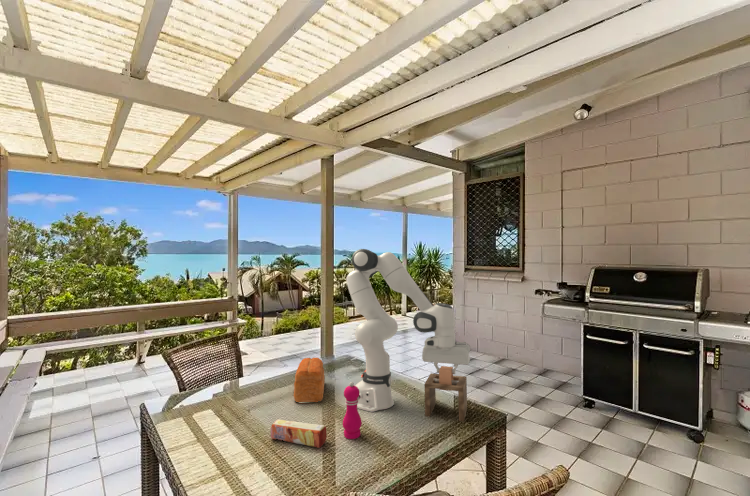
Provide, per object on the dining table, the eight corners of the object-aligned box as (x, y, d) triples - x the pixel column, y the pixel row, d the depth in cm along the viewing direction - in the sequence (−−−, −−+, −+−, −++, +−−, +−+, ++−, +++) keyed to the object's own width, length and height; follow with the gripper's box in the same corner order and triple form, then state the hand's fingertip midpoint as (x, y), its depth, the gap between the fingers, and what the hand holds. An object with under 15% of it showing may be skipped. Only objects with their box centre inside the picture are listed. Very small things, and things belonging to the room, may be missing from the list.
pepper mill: (359, 440, 127) (358, 385, 128) (340, 439, 129) (339, 384, 129) (363, 431, 135) (362, 379, 135) (345, 429, 136) (345, 378, 137)
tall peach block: (439, 389, 148) (438, 370, 148) (442, 384, 155) (441, 366, 155) (451, 390, 146) (450, 371, 147) (453, 385, 153) (452, 366, 153)
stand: (425, 416, 146) (424, 383, 147) (431, 402, 160) (430, 372, 160) (464, 421, 141) (463, 387, 141) (467, 407, 154) (466, 376, 155)
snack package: (268, 441, 129) (268, 422, 129) (279, 432, 135) (279, 415, 135) (319, 451, 122) (319, 431, 122) (328, 441, 128) (328, 423, 128)
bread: (325, 382, 189) (324, 354, 189) (323, 402, 162) (322, 370, 162) (298, 383, 187) (298, 355, 188) (292, 404, 161) (292, 371, 161)
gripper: (470, 340, 151) (471, 373, 150) (423, 338, 158) (424, 368, 157) (469, 344, 145) (470, 377, 144) (420, 341, 152) (421, 373, 151)
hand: (446, 373), depth 151 cm, fingers closed on tall peach block, 5 cm apart
